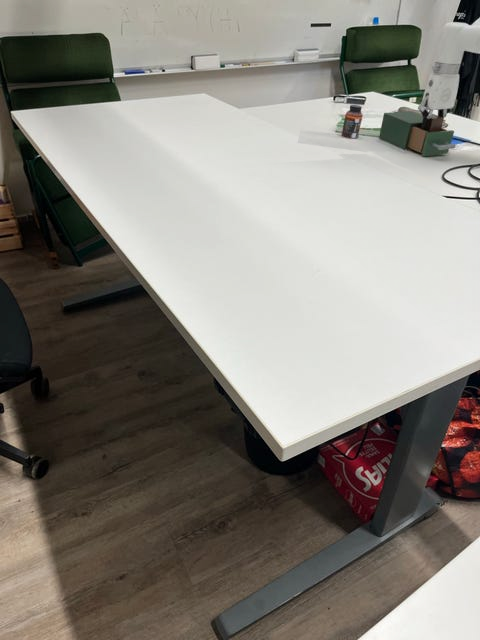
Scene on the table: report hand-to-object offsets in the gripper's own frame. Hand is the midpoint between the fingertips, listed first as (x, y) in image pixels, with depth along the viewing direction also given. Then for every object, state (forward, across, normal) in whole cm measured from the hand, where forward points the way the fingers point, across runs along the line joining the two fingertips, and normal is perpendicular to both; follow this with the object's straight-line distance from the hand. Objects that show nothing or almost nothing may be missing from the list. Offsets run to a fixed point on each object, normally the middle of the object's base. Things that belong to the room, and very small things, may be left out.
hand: (430, 129), depth 160 cm
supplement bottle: (+8, -17, +21) cm, 28 cm away
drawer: (+7, 0, -1) cm, 7 cm away
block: (0, 0, 0) cm, 0 cm away
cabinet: (+8, 0, +11) cm, 13 cm away
